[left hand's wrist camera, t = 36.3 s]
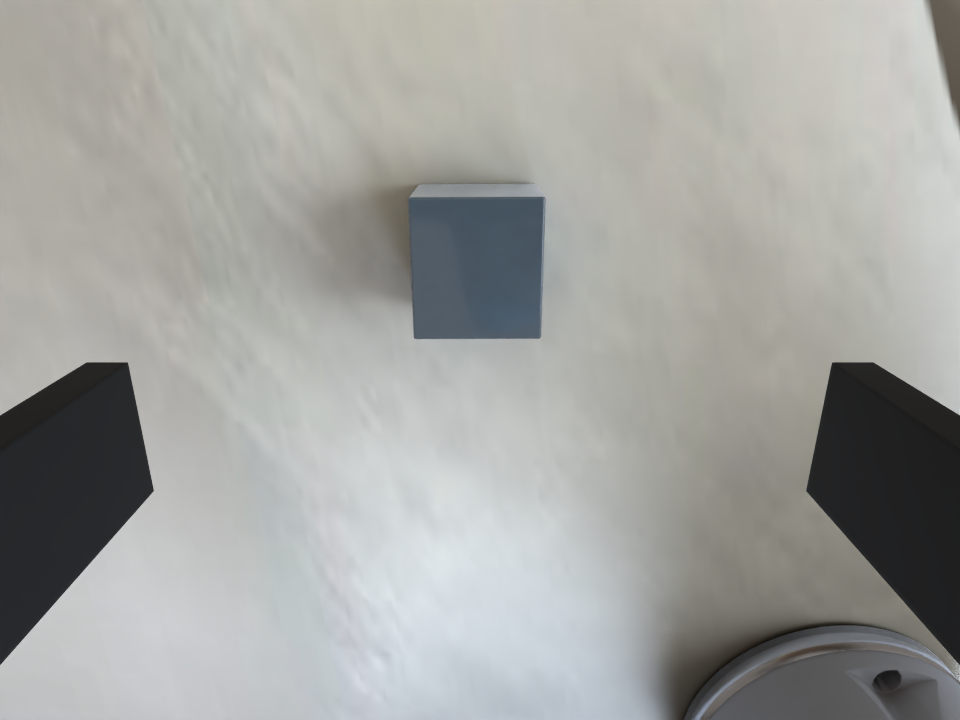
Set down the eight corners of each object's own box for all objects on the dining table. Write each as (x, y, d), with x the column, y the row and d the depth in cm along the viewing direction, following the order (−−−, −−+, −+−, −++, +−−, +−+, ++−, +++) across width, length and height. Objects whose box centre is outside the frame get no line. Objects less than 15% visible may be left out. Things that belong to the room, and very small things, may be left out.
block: (535, 183, 25) (545, 196, 21) (531, 305, 27) (541, 339, 23) (418, 183, 25) (407, 197, 21) (423, 306, 27) (413, 339, 23)
